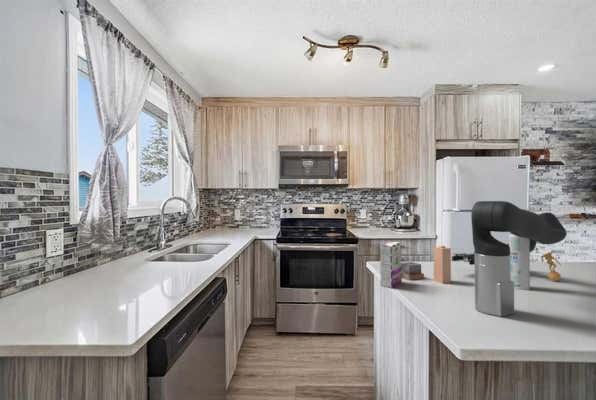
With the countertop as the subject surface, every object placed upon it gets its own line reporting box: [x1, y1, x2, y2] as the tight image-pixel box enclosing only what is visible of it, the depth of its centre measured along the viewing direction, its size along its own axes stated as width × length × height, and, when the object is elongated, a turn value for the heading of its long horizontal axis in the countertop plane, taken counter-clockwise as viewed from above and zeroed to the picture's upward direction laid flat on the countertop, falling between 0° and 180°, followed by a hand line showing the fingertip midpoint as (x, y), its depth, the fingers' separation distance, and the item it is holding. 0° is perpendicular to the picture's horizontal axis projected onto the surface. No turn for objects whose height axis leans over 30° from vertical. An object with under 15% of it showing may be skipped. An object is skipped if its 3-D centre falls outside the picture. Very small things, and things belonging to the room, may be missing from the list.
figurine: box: [540, 251, 562, 282], centre depth 127 cm, size 8×6×12 cm
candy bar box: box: [379, 241, 403, 289], centre depth 123 cm, size 11×5×16 cm, turn 143°
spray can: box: [508, 234, 531, 291], centre depth 117 cm, size 6×6×20 cm
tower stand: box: [401, 261, 425, 281], centre depth 134 cm, size 8×8×6 cm
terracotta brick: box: [433, 245, 452, 284], centre depth 127 cm, size 4×4×15 cm
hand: (461, 260), depth 131 cm, fingers open, 8 cm apart
